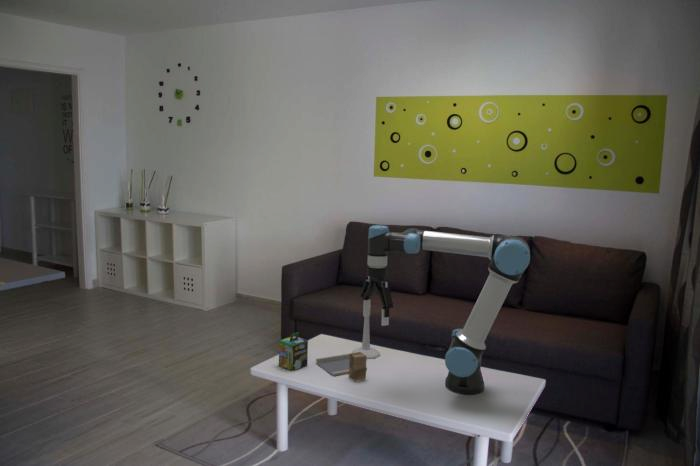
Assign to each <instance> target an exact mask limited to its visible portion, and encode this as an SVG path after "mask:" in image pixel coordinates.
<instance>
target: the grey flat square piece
mask: <svg viewBox="0 0 700 466" xmlns="http://www.w3.org/2000/svg"><path fill="white" fill-rule="evenodd" d="M350 354H351V353H344V354H337V355H332V356H324V357H317V358H316V360H315V364H316V365H317V366H318V367H320V368H321V369H322V370H324V371H325V372H326V373H327V374H329V375H330V376H332V377H336V376H337V377H338V376H343V375H349V356H350ZM367 370H368V367H367V366H366V372H367Z"/></svg>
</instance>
